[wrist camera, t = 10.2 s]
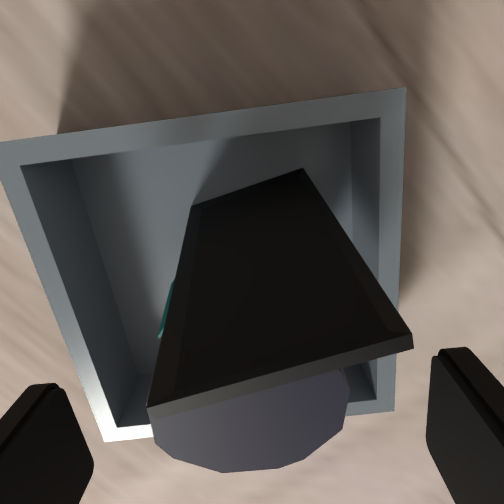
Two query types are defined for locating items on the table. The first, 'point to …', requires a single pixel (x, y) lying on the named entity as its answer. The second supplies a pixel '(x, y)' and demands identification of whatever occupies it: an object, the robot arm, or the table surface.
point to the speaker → (264, 329)
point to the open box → (176, 217)
